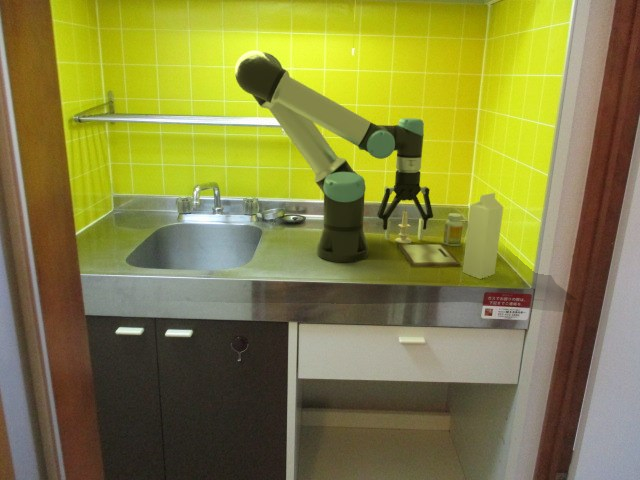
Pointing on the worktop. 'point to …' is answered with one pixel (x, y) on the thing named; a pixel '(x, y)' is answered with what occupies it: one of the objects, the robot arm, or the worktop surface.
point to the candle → (404, 230)
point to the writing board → (428, 255)
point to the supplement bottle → (453, 230)
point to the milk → (483, 237)
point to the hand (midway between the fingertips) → (403, 239)
